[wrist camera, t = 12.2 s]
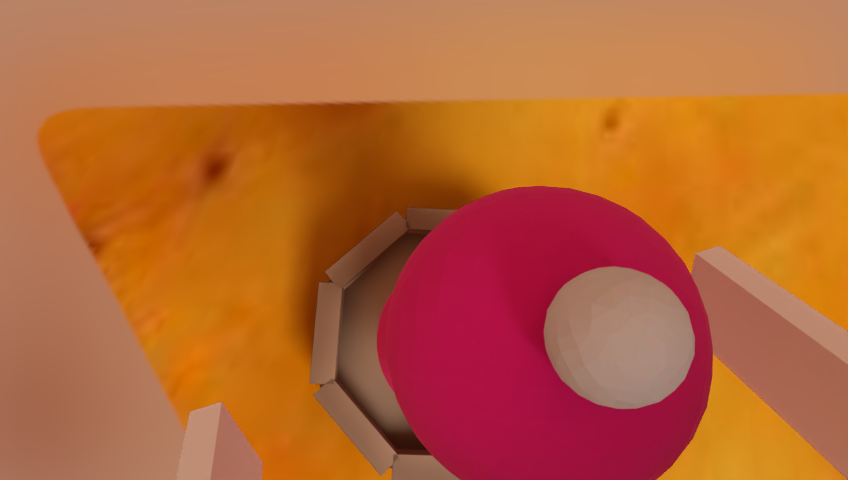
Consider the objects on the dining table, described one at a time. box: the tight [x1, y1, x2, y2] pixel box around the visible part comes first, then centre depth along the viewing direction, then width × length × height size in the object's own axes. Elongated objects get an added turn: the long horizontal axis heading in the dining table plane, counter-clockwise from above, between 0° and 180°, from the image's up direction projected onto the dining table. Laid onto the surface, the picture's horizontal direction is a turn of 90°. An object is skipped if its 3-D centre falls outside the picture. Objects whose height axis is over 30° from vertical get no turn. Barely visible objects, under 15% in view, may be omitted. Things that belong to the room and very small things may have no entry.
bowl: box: [309, 207, 460, 480], centre depth 25 cm, size 14×14×3 cm
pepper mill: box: [377, 186, 713, 480], centre depth 15 cm, size 7×7×20 cm
